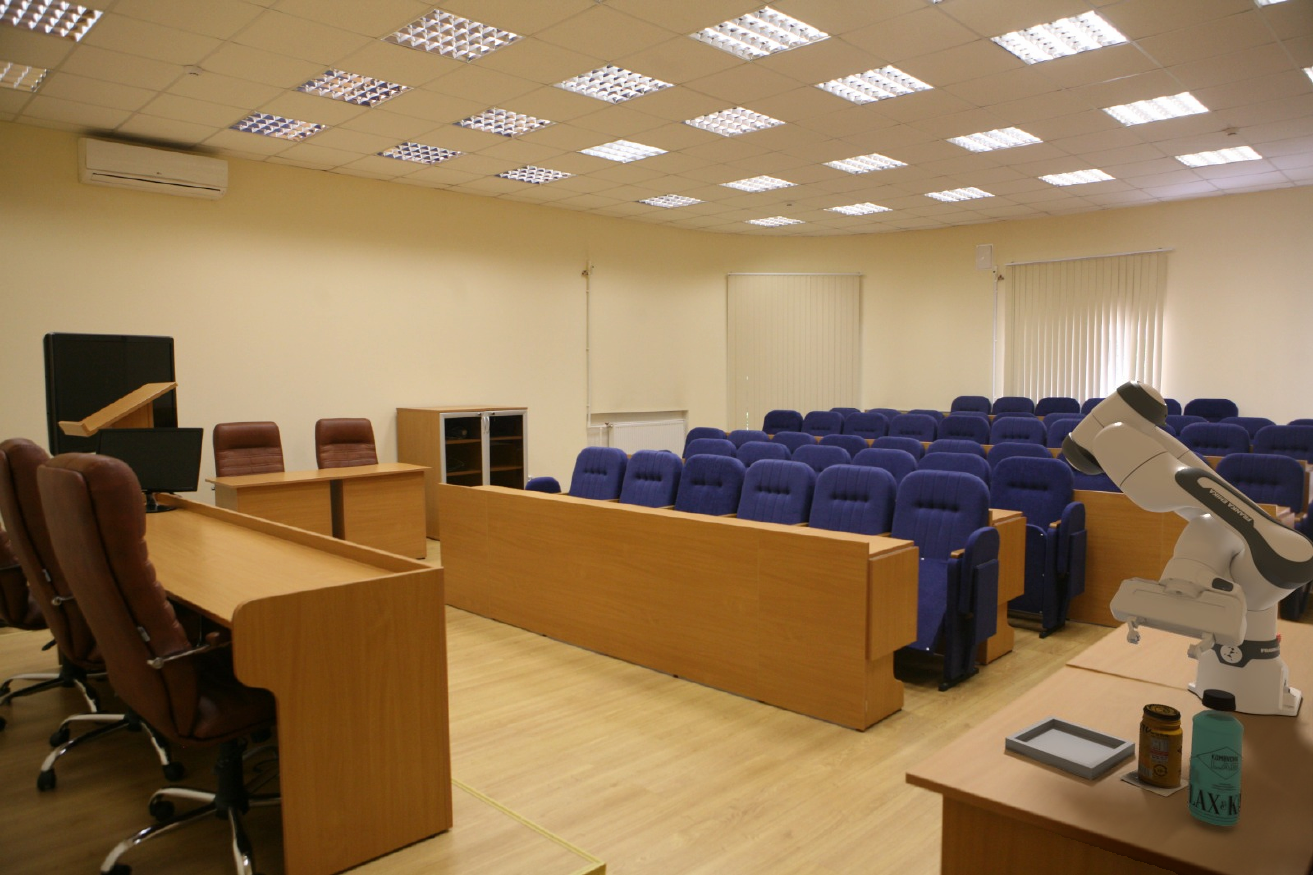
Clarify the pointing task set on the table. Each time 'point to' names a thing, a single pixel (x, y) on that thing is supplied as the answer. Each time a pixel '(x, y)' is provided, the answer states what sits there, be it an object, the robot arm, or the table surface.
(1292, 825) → the table surface
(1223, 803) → the beverage bottle
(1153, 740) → the condiment
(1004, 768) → the table surface
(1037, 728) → the tray
